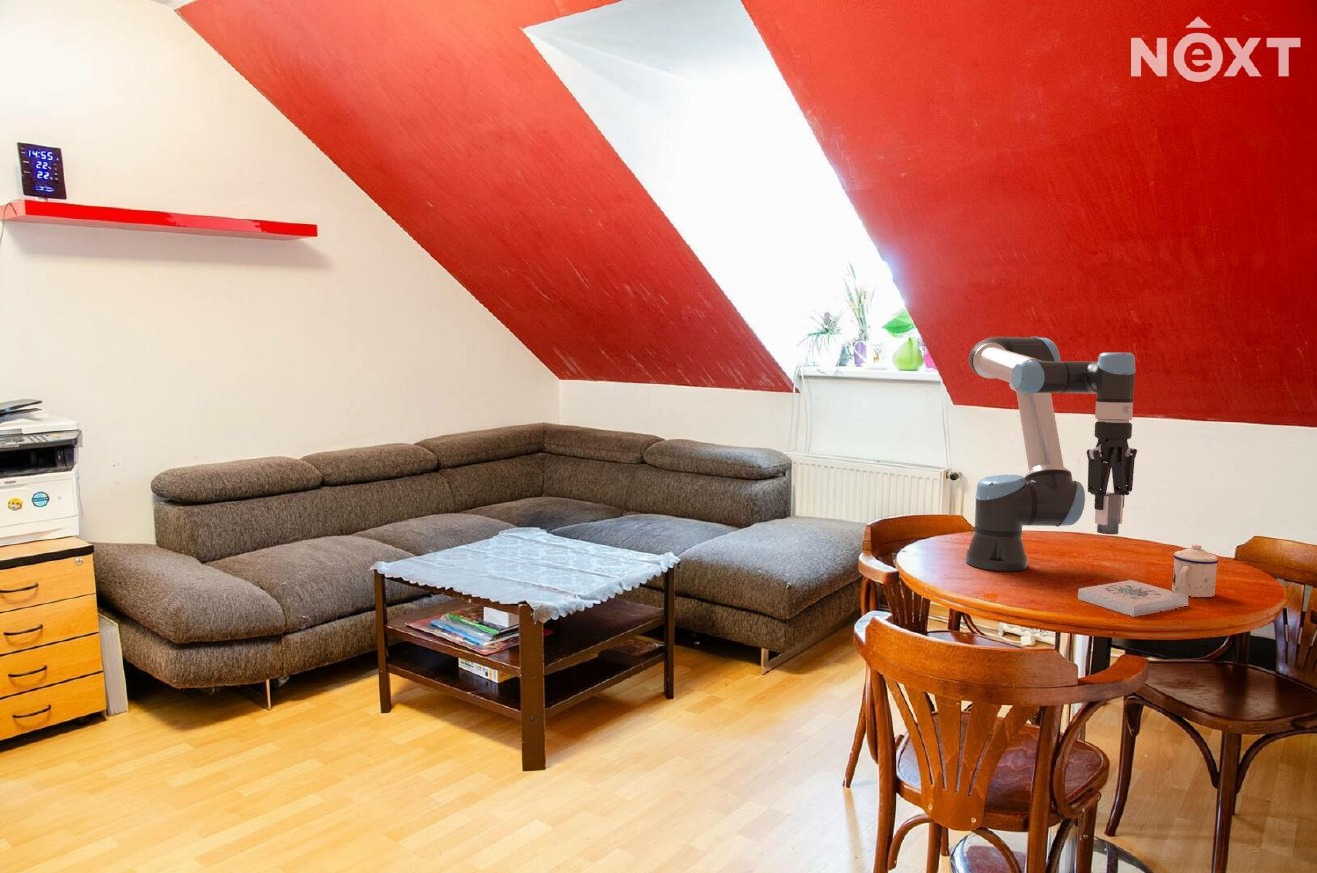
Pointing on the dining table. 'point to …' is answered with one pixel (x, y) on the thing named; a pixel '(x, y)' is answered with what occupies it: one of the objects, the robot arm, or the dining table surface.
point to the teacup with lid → (1194, 572)
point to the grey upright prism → (1111, 515)
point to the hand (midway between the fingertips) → (1108, 523)
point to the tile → (1132, 598)
